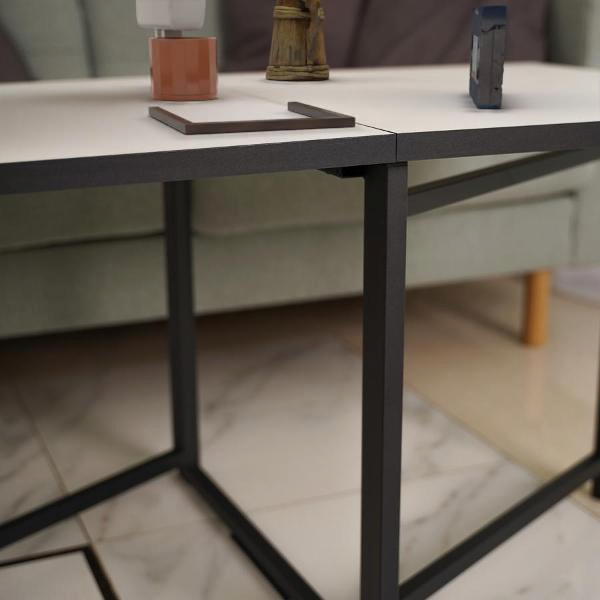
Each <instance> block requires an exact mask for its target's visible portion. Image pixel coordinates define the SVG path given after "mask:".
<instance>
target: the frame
mask: <svg viewBox="0 0 600 600" xmlns="http://www.w3.org/2000/svg"><path fill="white" fill-rule="evenodd" d="M147 109H148V116H150V117H152V118H153V119H156V120H157V121H160V122H161V123H163V124H166V125H167V126H169V127H171V128H173V129H175V130H177V131H179V132H181V133H183V135H200V134H202V135H203V134H220V133H223V134H224V133H225V134H226V133H242V132H243V133H244V132H245V133H246V132H265V131H285V130H307V129H308V130H309V129H328V128H329V129H330V128H349V127H350V128H351V127H352V128H353V127H356V117H355V116H353V115H348V114H344V113H341V112H337V111H333V110H330V109H326V108H322V107H318V106H315V105H311V104H308V103H303V102H300V101H287V111H291V112H293V113H297V114H299V115H300V114H301V115H304V116H308V117H294V118H272V119H271V118H270V119H269V118H268V119H248V120H247V119H246V120H227V121H226V120H223V121H202V122H201V121H200V122H193V121H191V120H188V119H186V118H184V117H182V116H179V115H178V114H175V113H173V112H171V111H169V110H166V109H164V108H162V107H160V106H148V108H147Z"/></svg>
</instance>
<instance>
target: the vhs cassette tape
mask: <svg viewBox="0 0 600 600" xmlns="http://www.w3.org/2000/svg"><path fill="white" fill-rule="evenodd" d="M507 16H508V6H507V5H478V6H473V7H472V13H471V32H470V54H469V55H470V57H469V78H468V79H469V81H468V94H469V96H470V98H471V100H472V102H473V103H474V105H475V107H476V108H477V109H494V110H495V109H502V108H503V107H502V104H503V103H502V101H503V84H504V72H505V59H506V56H505V54H506V39H507V38H506V35H507Z"/></svg>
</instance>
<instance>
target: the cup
mask: <svg viewBox="0 0 600 600" xmlns="http://www.w3.org/2000/svg"><path fill="white" fill-rule="evenodd" d="M148 53H149V54H148V55H149V76H150V77H149V78H150V93H151V98H152V99H153V100H157V101H169V102H170V101H172V102H174V101H175V102H191V101H192V102H193V101H195V102H196V101H208V100H216V99H218V98H219V69H218V68H219V67H218V38H217V37H214V36H213V37H212V36H182V37H155V36H154V37H149V38H148Z"/></svg>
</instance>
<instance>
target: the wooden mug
mask: <svg viewBox="0 0 600 600" xmlns="http://www.w3.org/2000/svg"><path fill="white" fill-rule="evenodd" d="M275 4H276V5H275V6H274V7H273V14H272V15H273V16H272V17H273V18H274V21H273V30H272V36H271V37H272V38H271V46H270V51H269V60H268V65H267V66H266V72H265V76H264V77H265V79H267V80H272V81H288V82H289V81H290V82H307V81H324V80H328V79H330V66H329V64H327V55H326V46H325V36H324V35H325V34H324V25H323V23H324V22H323V20H325V13H324V9H323V7H322V5H321V0H276V3H275Z"/></svg>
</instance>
